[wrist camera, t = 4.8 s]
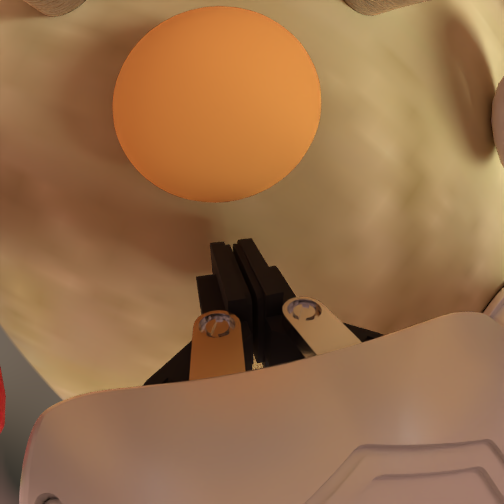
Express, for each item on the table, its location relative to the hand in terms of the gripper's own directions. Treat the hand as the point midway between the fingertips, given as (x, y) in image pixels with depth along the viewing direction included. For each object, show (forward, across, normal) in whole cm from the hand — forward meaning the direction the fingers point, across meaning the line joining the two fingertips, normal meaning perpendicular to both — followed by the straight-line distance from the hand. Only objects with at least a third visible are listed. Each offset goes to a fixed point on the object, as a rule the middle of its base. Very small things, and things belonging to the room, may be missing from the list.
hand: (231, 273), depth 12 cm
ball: (-1, 0, -7) cm, 7 cm away
